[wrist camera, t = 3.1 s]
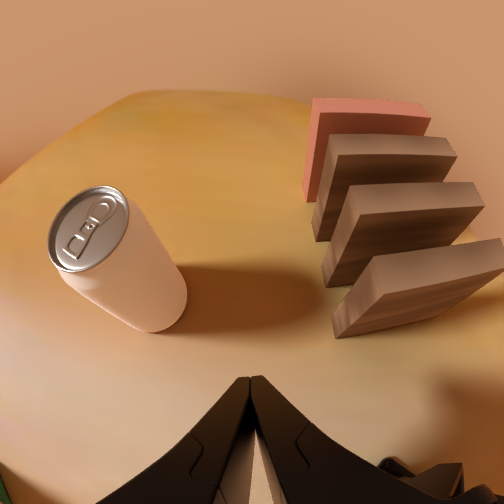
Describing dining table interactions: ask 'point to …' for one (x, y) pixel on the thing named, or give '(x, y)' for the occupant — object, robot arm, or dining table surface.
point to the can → (116, 259)
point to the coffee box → (3, 494)
